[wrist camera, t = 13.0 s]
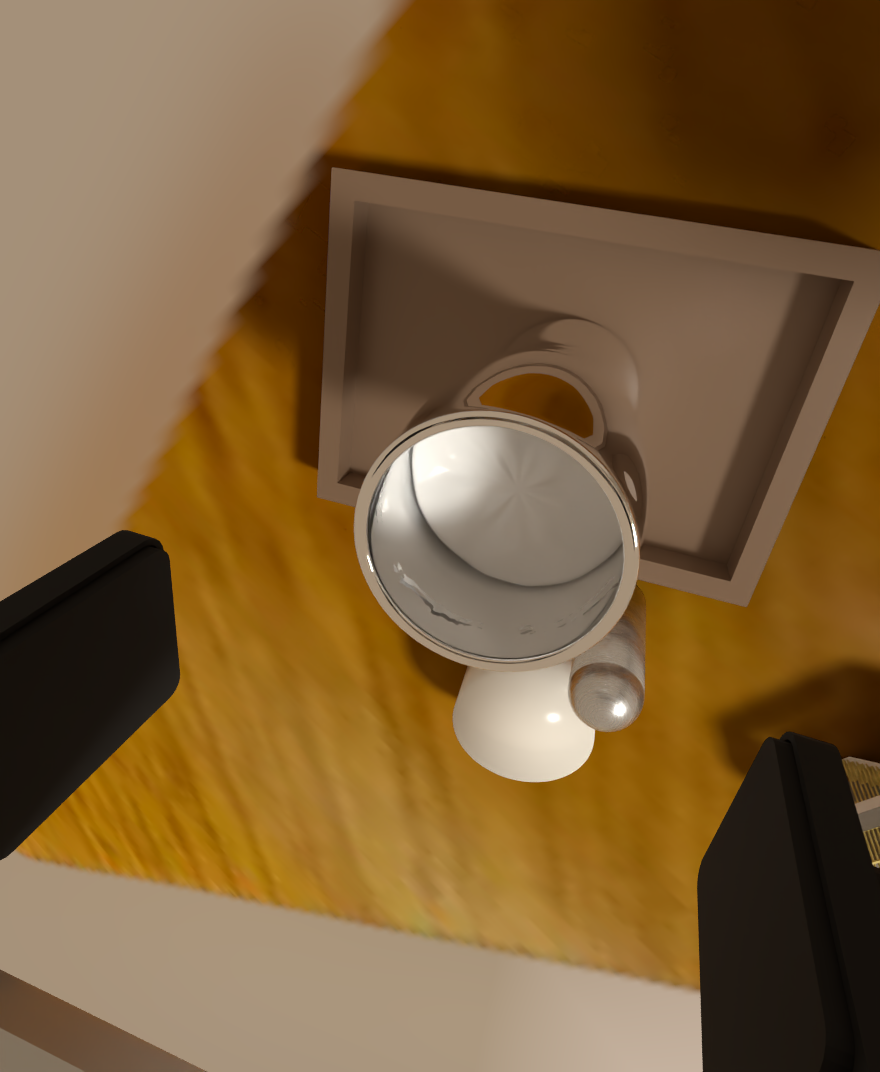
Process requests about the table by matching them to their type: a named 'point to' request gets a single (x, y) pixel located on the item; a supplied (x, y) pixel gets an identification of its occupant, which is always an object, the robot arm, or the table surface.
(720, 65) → the table surface
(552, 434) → the silver metal tumbler
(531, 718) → the white rounded cylinder
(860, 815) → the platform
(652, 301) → the tray
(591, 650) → the salt shaker
